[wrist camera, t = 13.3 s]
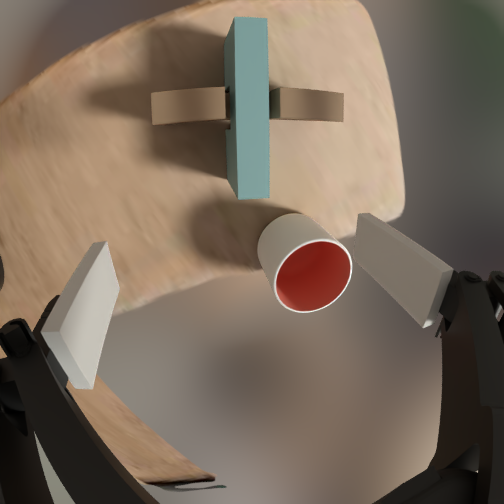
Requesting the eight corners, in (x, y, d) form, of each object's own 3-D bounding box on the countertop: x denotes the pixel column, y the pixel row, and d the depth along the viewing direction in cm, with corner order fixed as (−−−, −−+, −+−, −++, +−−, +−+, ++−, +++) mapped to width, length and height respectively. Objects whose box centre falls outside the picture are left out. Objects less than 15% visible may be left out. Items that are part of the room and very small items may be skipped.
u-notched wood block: (164, 124, 31) (152, 125, 22) (163, 101, 29) (151, 92, 20) (306, 120, 33) (343, 121, 25) (306, 98, 32) (343, 93, 23)
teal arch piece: (250, 178, 36) (269, 197, 27) (227, 179, 35) (238, 199, 26) (248, 44, 28) (267, 18, 19) (223, 44, 27) (234, 16, 18)
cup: (245, 225, 38) (262, 259, 30) (312, 200, 39) (346, 225, 30) (267, 282, 43) (285, 324, 34) (326, 259, 43) (356, 294, 35)
